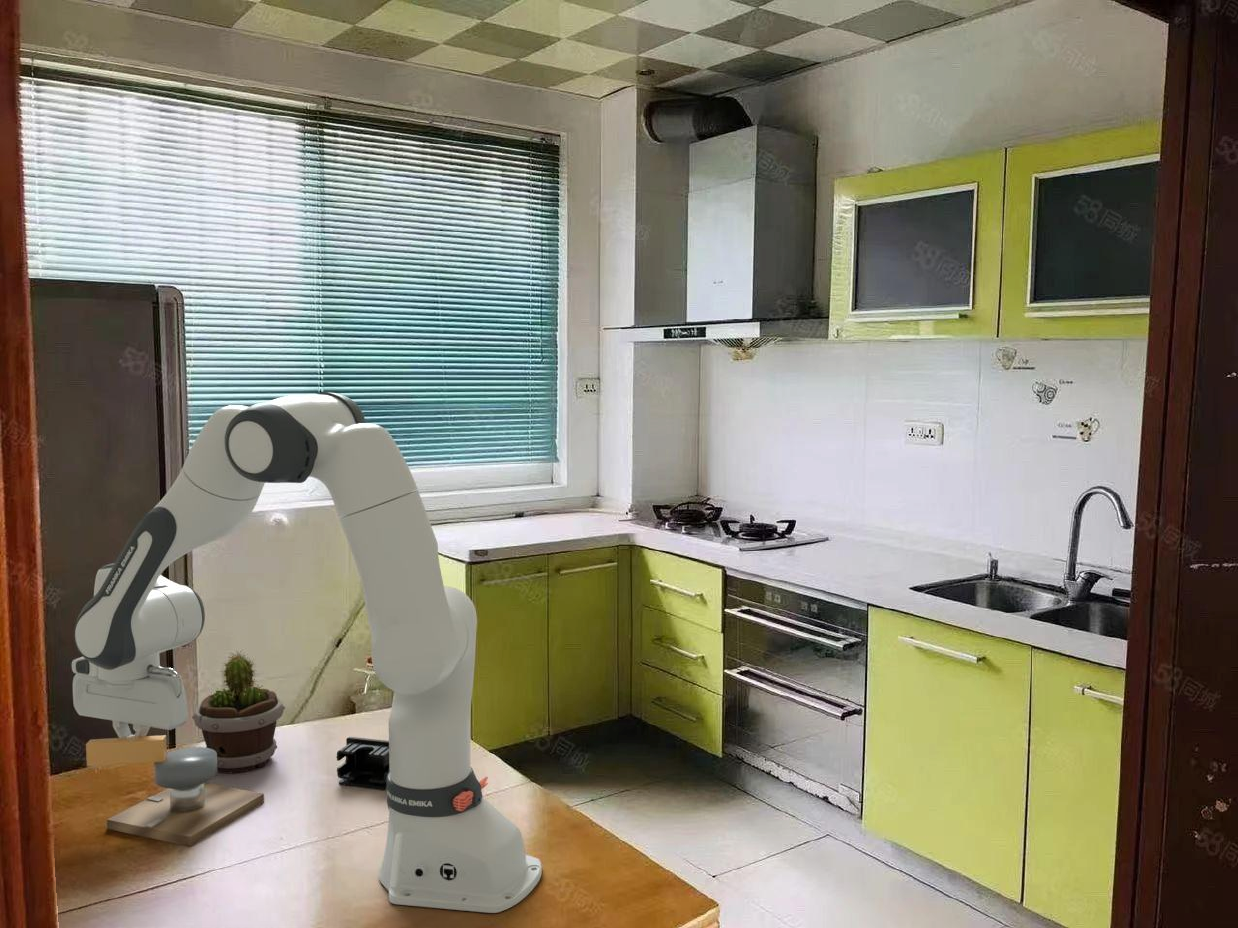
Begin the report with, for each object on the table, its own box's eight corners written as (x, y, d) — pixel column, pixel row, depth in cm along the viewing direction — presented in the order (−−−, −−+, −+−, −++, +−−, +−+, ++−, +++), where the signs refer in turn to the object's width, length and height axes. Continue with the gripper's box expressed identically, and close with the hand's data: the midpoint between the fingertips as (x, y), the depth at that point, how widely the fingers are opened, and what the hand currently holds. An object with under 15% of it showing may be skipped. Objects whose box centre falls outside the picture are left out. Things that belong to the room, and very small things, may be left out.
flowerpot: (282, 774, 173) (278, 661, 171) (187, 782, 169) (182, 667, 167) (289, 744, 187) (286, 639, 185) (202, 751, 183) (198, 644, 181)
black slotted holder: (408, 774, 173) (407, 736, 172) (388, 791, 166) (388, 752, 166) (356, 768, 175) (355, 731, 175) (335, 785, 169) (334, 746, 168)
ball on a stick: (223, 763, 161) (221, 724, 161) (210, 786, 153) (209, 744, 152) (99, 771, 158) (97, 731, 158) (79, 794, 149) (77, 752, 149)
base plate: (264, 802, 161) (263, 792, 161) (190, 846, 147) (189, 835, 146) (186, 787, 167) (185, 778, 167) (107, 828, 152) (106, 818, 152)
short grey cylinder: (212, 801, 158) (210, 774, 158) (188, 815, 153) (187, 786, 153) (187, 797, 160) (186, 770, 159) (162, 810, 155) (161, 782, 155)
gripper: (196, 663, 155) (199, 749, 156) (97, 650, 162) (101, 732, 164) (164, 675, 149) (168, 764, 150) (63, 661, 156) (67, 746, 158)
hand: (132, 747), depth 157 cm, fingers closed
